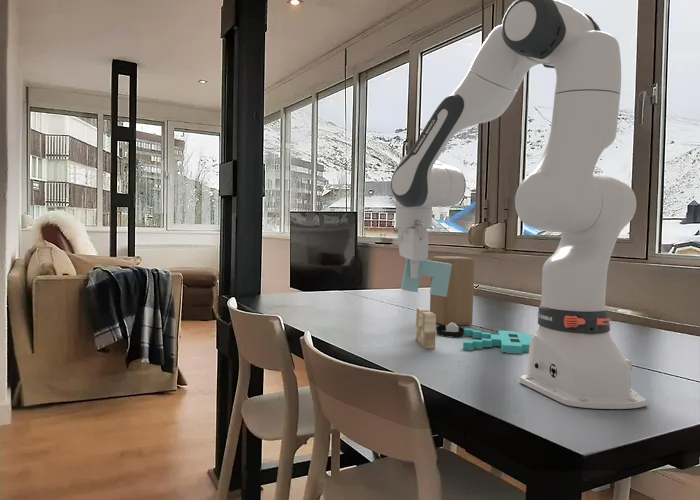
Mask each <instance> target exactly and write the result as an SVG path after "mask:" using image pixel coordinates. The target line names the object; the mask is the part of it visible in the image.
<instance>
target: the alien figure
mask: <svg viewBox="0 0 700 500" xmlns="http://www.w3.org/2000/svg"><path fill="white" fill-rule="evenodd" d="M463 328H464V327H463ZM497 332H498V334H492V333H491V332H486V331H485V332H482V330H477V329H476V330H474V329H473V328H464V336H463V337H467V336H472V340H462V341H463V342H462V343H463V345H462V351H471V350H474V349H473V348H477V349H476V350H483V347H491V348H490V349H492V347H496V346H501V347H500V349H501V353H502V352H506V354H517V353H518V354H520V355H522V354H523V353H529V347H530V340H531V338H532V337H533V336H534V335H535V334H533V335H532V334H526V333H525V332H523V333H522V332H516V330H515V331H512V330H500V329H499V330H498V331H497ZM475 338H481V339H475ZM518 354H517V355H518Z"/></svg>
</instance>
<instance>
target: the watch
mask: <svg viewBox="0 0 700 500" xmlns="http://www.w3.org/2000/svg"><path fill="white" fill-rule="evenodd" d="M436 335H438V336H441V335H443V336H442V337H446V336H452V337H451V338H461V337H465V336H464V327H461V326H459V325H456V324H454V323H453V322H451V323H450V324H448V325H441V324H439V325H436Z"/></svg>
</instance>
